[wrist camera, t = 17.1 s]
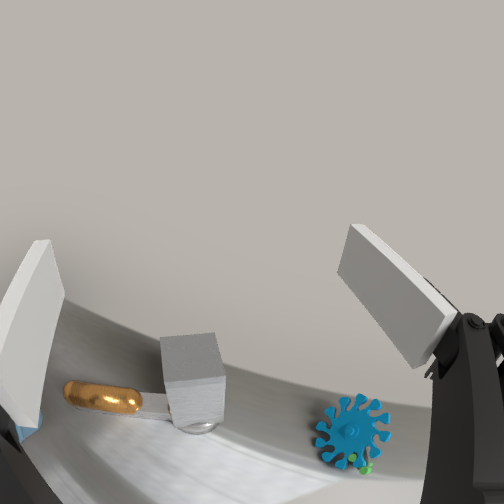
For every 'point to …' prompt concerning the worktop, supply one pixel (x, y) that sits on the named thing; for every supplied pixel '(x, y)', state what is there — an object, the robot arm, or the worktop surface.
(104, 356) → the worktop surface
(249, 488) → the worktop surface
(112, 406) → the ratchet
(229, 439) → the worktop surface
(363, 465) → the gear
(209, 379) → the brushed metal block
